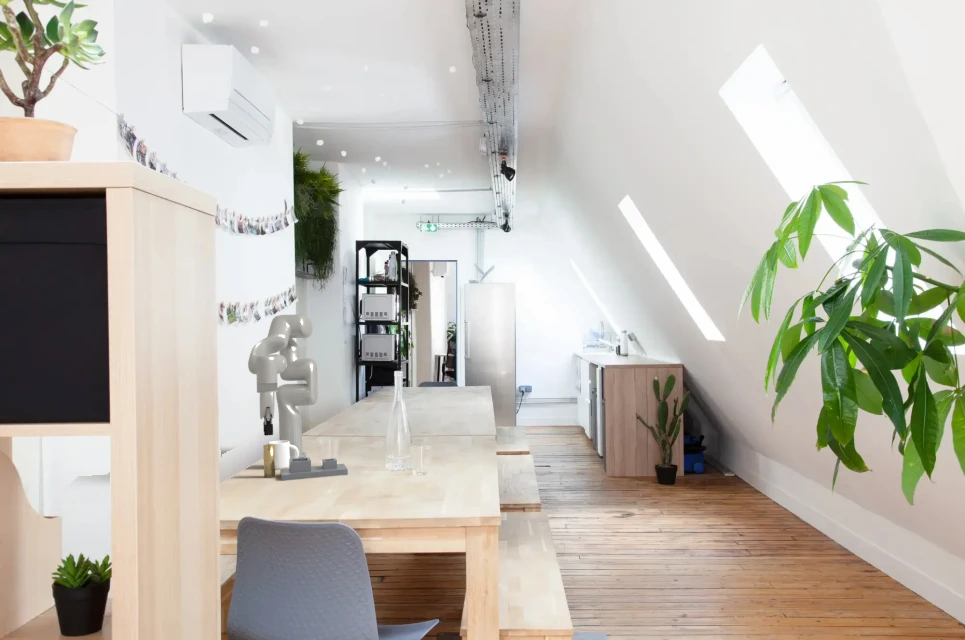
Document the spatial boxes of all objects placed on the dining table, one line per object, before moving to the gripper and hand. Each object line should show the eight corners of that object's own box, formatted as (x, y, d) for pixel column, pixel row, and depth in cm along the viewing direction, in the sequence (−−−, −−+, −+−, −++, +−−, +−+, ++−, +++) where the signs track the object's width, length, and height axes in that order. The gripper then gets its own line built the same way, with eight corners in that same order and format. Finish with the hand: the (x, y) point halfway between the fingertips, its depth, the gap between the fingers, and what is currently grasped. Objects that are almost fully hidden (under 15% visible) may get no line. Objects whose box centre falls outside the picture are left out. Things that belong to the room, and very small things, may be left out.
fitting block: (280, 474, 278) (280, 458, 278) (343, 468, 286) (343, 453, 286) (281, 480, 267) (281, 464, 267) (347, 474, 274) (347, 458, 274)
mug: (301, 464, 297) (300, 439, 297) (297, 468, 288) (296, 442, 289) (271, 466, 296) (270, 440, 296) (266, 470, 288) (265, 444, 288)
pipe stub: (264, 476, 275) (263, 444, 276) (275, 475, 277) (274, 443, 277) (264, 478, 272) (263, 446, 272) (275, 477, 273) (274, 445, 273)
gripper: (256, 387, 281) (257, 431, 281) (257, 390, 265) (258, 437, 264) (276, 386, 284) (277, 430, 283) (278, 389, 267) (279, 435, 267)
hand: (268, 433), depth 274 cm, fingers open, 9 cm apart
